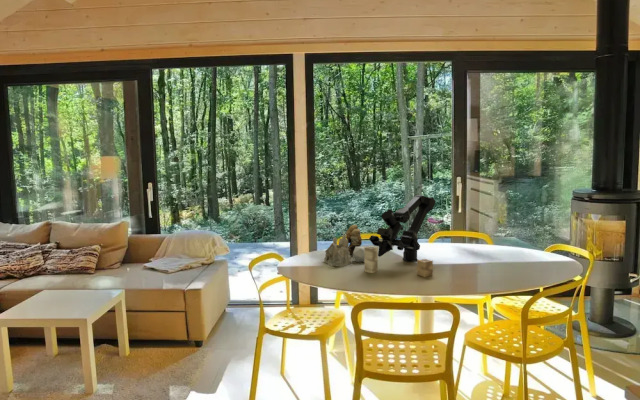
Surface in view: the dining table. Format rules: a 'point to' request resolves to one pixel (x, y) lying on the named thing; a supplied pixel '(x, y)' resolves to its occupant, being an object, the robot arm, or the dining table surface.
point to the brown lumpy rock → (353, 238)
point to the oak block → (424, 267)
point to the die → (359, 254)
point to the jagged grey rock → (338, 253)
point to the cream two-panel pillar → (371, 259)
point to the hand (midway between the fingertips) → (378, 256)
